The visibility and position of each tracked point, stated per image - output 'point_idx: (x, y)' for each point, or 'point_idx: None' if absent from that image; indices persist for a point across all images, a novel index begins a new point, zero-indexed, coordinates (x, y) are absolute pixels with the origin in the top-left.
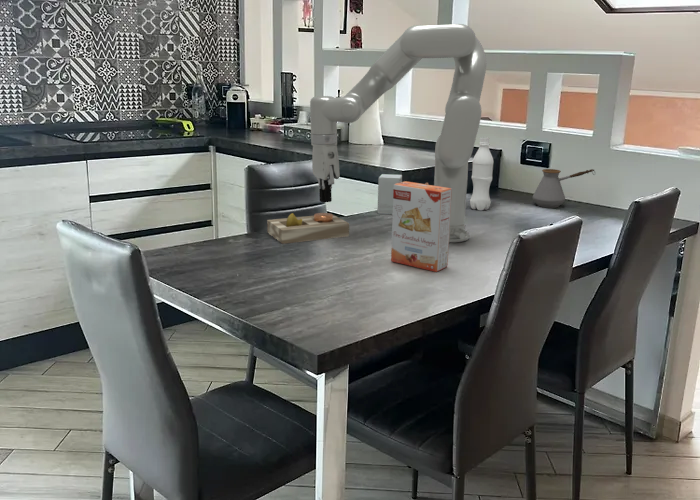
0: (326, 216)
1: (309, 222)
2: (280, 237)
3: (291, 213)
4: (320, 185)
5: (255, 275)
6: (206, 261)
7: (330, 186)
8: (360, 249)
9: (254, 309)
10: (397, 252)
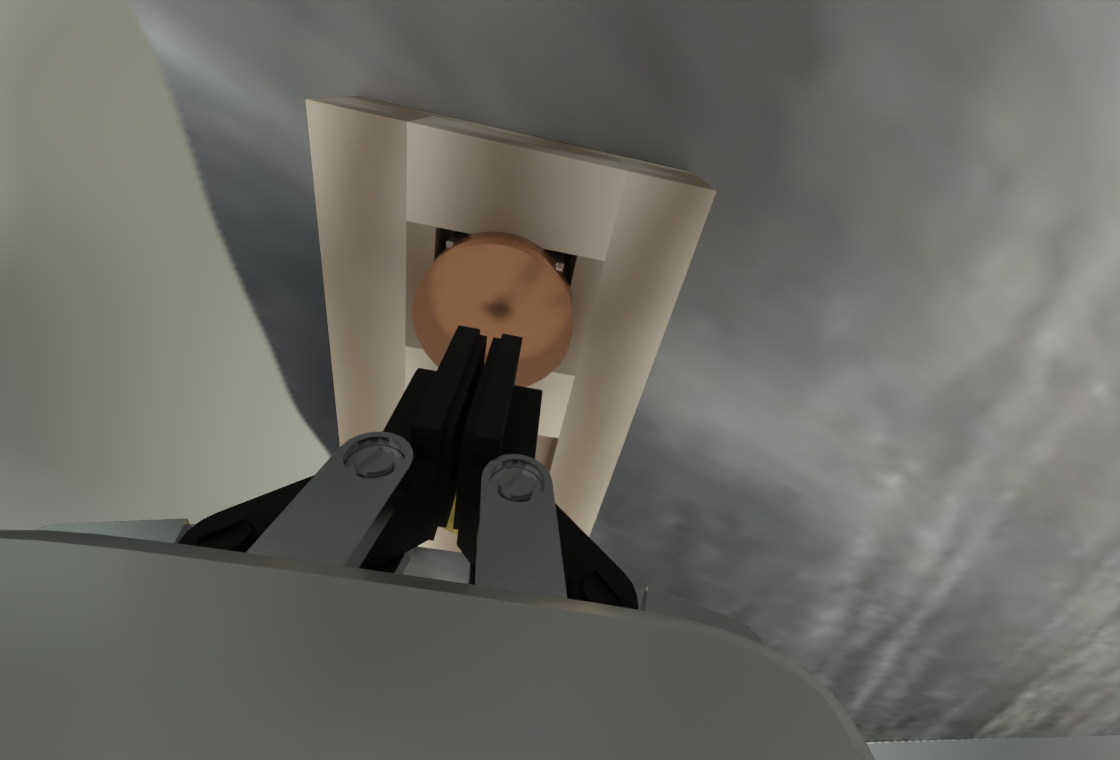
0: (554, 335)
1: None
2: None
3: (450, 531)
4: (401, 567)
5: (798, 664)
6: None
7: (579, 533)
8: (944, 302)
9: (959, 720)
10: None
